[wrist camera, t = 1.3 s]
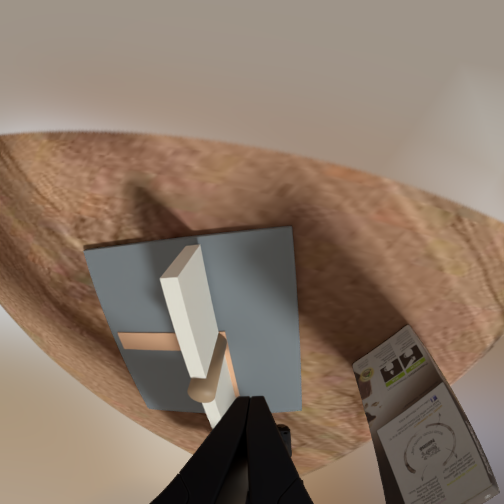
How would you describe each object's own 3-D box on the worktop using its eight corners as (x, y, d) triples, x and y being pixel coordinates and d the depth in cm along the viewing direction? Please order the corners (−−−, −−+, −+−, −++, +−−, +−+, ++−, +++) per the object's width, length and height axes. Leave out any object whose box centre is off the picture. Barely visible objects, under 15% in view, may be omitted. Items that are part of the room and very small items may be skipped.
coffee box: (348, 365, 23) (387, 539, 8) (408, 321, 21) (496, 485, 6) (391, 405, 25) (428, 534, 10) (441, 370, 23) (502, 494, 8)
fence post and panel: (243, 410, 25) (237, 459, 20) (225, 410, 25) (216, 458, 20) (225, 331, 22) (211, 385, 16) (202, 332, 22) (184, 384, 16)
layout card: (301, 407, 25) (301, 411, 24) (149, 405, 27) (148, 409, 26) (291, 225, 19) (291, 227, 18) (85, 249, 21) (82, 251, 20)
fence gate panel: (218, 332, 21) (205, 378, 17) (205, 332, 21) (190, 378, 17) (200, 244, 19) (177, 277, 14) (185, 245, 19) (159, 278, 14)
